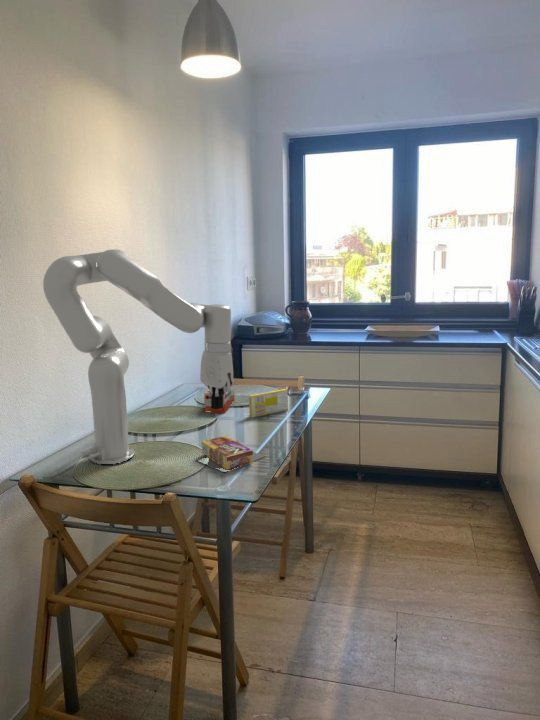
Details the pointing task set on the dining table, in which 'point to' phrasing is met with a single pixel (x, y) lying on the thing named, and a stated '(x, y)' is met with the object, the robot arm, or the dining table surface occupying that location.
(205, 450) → the candy box
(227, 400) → the medicine box
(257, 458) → the mat
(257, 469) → the dining table surface
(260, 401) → the candy box
